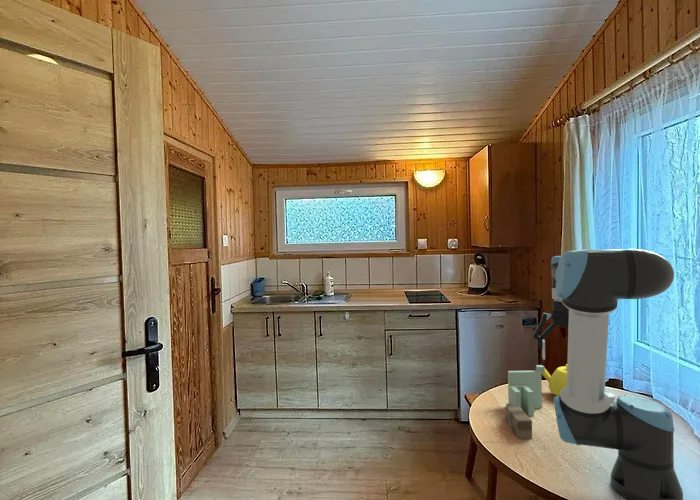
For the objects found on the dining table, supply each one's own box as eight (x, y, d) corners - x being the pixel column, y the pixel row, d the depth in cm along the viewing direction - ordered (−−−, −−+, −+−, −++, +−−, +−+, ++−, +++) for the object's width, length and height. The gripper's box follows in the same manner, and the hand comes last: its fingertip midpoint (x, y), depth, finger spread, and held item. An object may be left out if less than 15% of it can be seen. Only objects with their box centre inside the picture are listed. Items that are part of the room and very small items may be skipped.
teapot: (532, 396, 170) (531, 363, 169) (546, 386, 181) (545, 355, 180) (586, 409, 155) (585, 373, 155) (597, 397, 166) (597, 364, 166)
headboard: (553, 415, 151) (552, 372, 151) (515, 416, 152) (514, 373, 151) (542, 405, 160) (542, 365, 160) (507, 406, 161) (506, 365, 161)
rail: (532, 438, 135) (531, 420, 135) (518, 438, 135) (517, 420, 135) (514, 416, 151) (514, 400, 151) (502, 416, 152) (502, 400, 152)
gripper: (602, 299, 143) (603, 359, 144) (524, 297, 152) (526, 354, 153) (607, 302, 136) (608, 366, 137) (525, 300, 145) (526, 360, 146)
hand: (565, 360), depth 145 cm, fingers open, 13 cm apart
